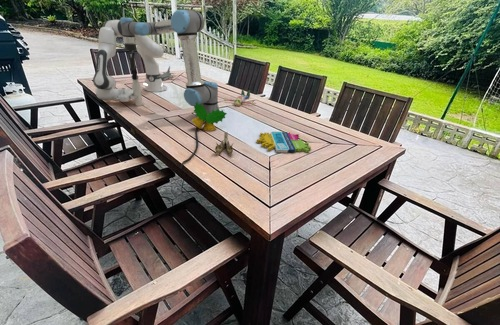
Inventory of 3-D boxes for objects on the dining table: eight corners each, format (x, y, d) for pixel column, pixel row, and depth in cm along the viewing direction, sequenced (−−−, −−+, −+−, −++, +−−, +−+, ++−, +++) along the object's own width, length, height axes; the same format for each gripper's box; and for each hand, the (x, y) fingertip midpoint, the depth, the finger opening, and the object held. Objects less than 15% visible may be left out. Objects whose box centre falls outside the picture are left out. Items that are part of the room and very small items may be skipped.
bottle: (134, 105, 194) (129, 77, 185) (136, 103, 199) (131, 75, 189) (141, 105, 195) (137, 77, 185) (143, 103, 200) (139, 76, 190)
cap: (137, 78, 191) (137, 74, 190) (139, 79, 188) (138, 76, 187) (131, 78, 188) (130, 75, 187) (132, 79, 185) (132, 76, 184)
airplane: (145, 76, 282) (144, 66, 276) (174, 74, 295) (174, 65, 290) (151, 85, 253) (150, 74, 248) (183, 83, 266) (183, 72, 261)
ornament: (218, 133, 171) (224, 110, 169) (221, 134, 163) (227, 111, 161) (186, 125, 162) (192, 101, 160) (189, 126, 155) (195, 101, 153)
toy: (261, 91, 228) (254, 99, 202) (261, 99, 231) (253, 108, 205) (231, 87, 233) (220, 95, 207) (230, 95, 236) (219, 104, 210)
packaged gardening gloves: (313, 150, 142) (258, 149, 139) (312, 153, 143) (258, 152, 140) (301, 132, 164) (254, 130, 161) (301, 134, 165) (254, 133, 162)
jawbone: (234, 135, 144) (233, 125, 135) (233, 160, 138) (232, 151, 129) (217, 135, 144) (216, 125, 135) (216, 160, 138) (214, 150, 129)
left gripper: (113, 94, 183) (133, 95, 184) (124, 87, 200) (142, 88, 201) (114, 103, 186) (134, 104, 187) (125, 95, 203) (143, 96, 204)
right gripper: (135, 45, 170) (140, 81, 181) (136, 42, 186) (141, 75, 197) (122, 45, 167) (128, 81, 179) (124, 41, 183) (130, 75, 195)
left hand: (138, 96), depth 194 cm, fingers closed on bottle, 5 cm apart
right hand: (135, 78), depth 188 cm, fingers open, 7 cm apart
